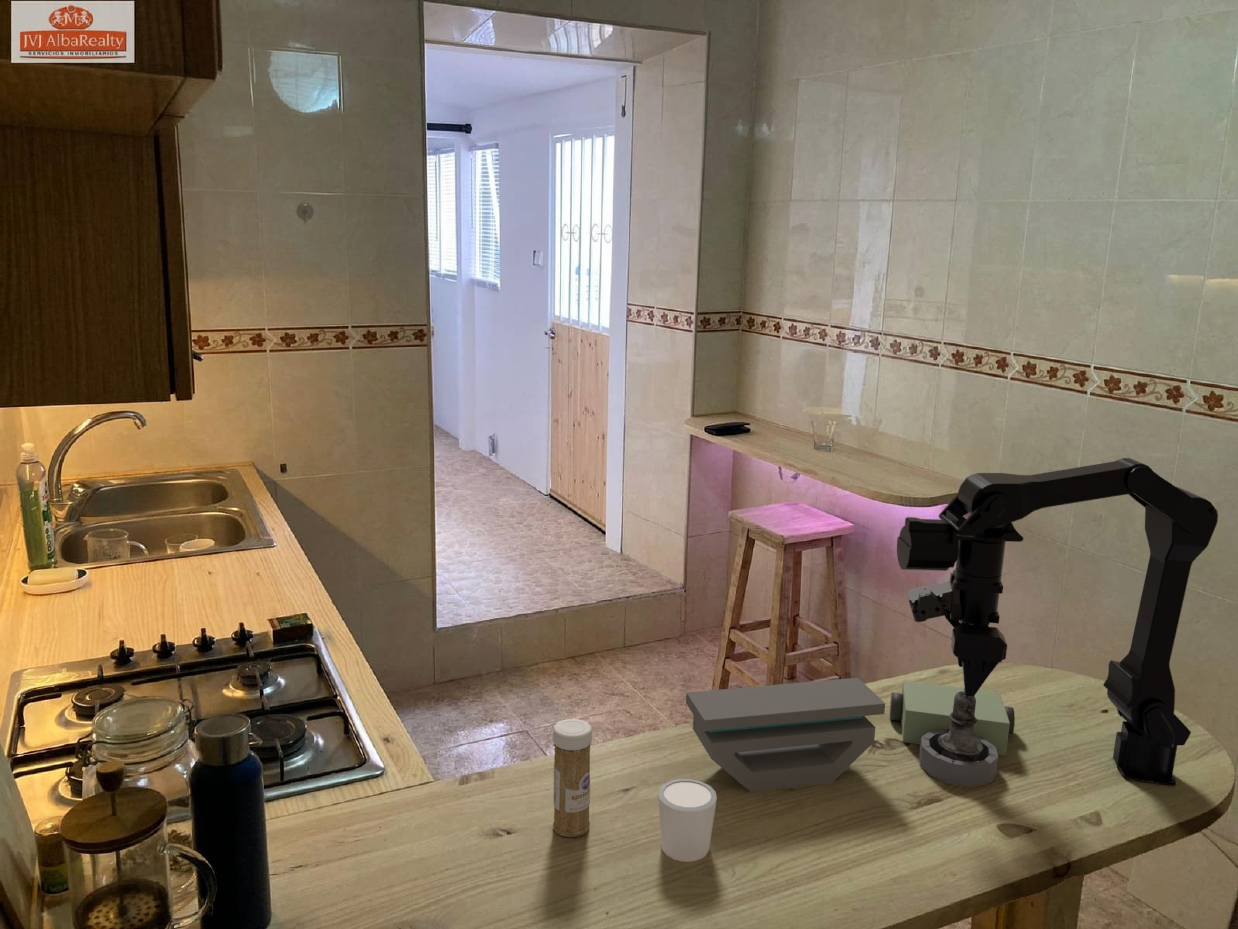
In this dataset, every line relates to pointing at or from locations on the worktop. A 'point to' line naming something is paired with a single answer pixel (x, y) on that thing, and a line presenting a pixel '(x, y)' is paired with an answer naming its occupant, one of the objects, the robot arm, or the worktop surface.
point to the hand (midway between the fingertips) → (965, 680)
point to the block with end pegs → (929, 719)
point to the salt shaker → (961, 731)
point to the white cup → (686, 818)
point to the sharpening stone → (786, 730)
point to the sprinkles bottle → (572, 777)
